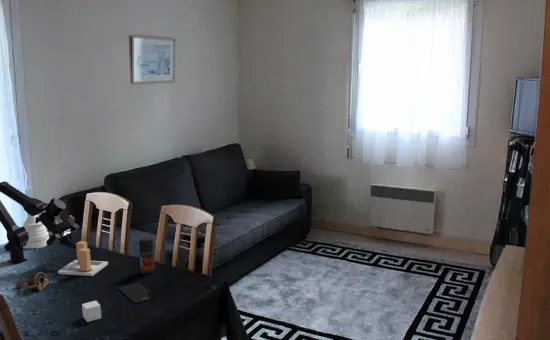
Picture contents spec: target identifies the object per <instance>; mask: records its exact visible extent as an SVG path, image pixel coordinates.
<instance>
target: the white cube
mask: <svg viewBox="0 0 550 340" xmlns="http://www.w3.org/2000/svg"><path fill="white" fill-rule="evenodd" d="M81 308H82V318H83V319H84V320H85V321H86V322H87V323H90V322H92V321H93V322H94V321H96V320H100V319H102V307H101V304H100V303H99V302H98V301H97V300H93V301H89V302H86V303H82V304H81Z"/></svg>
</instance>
